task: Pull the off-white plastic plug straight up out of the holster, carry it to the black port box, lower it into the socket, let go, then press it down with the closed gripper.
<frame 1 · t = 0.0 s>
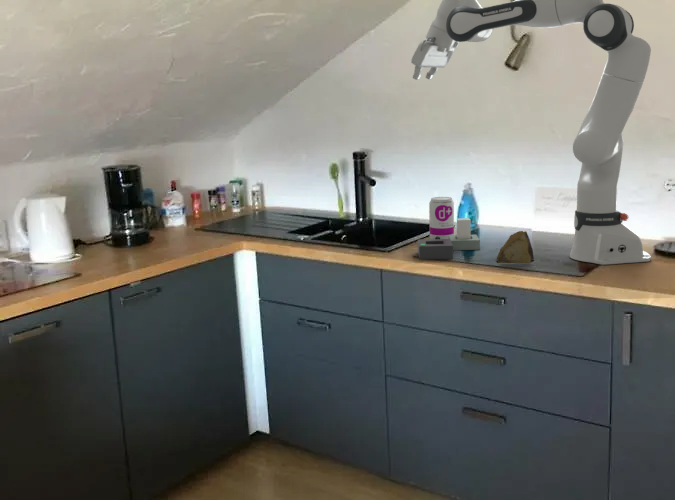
hand: (421, 78, 232), 54 cm above the worktop, tool tilted 30°, fingers open, 8 cm apart
holster: (463, 249, 232), on the worktop
rock: (514, 262, 213), on the worktop
port: (435, 258, 222), on the worktop
plug: (463, 246, 231), point 1 cm above the worktop, touching holster
supplement can: (441, 242, 245), on the worktop
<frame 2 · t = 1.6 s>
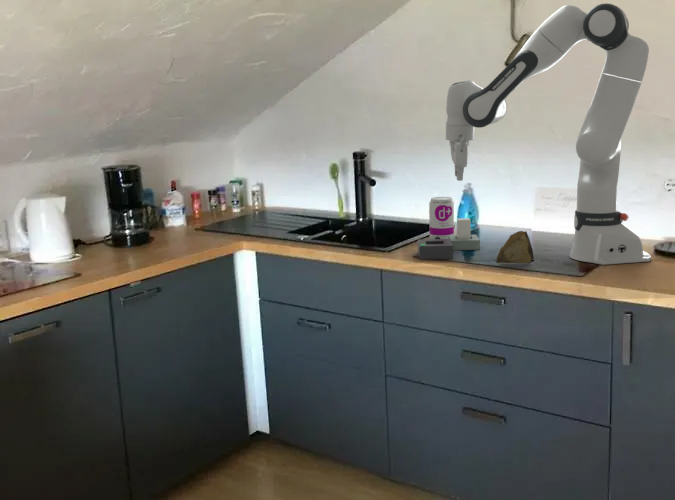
hand: (458, 178, 228), 23 cm above the worktop, tool pointing down, fingers open, 8 cm apart
nothing on the worktop moved.
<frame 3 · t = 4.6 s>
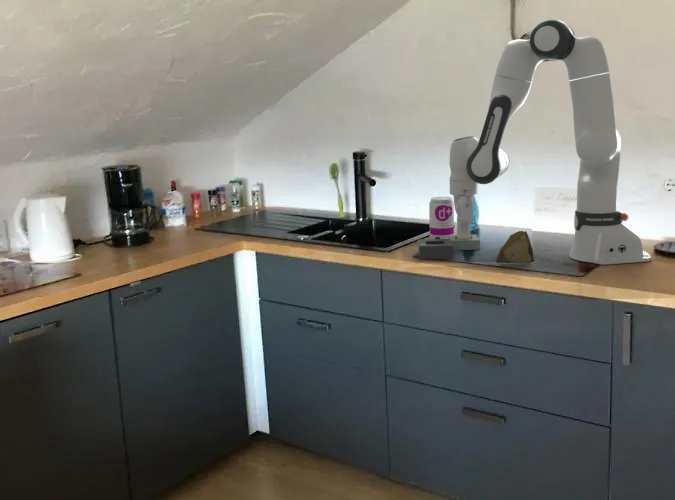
hand: (463, 231, 230), 6 cm above the worktop, tool pointing down, fingers closed on plug, 3 cm apart
plug: (463, 246, 231), point 1 cm above the worktop, touching gripper, holster
everything else where it was.
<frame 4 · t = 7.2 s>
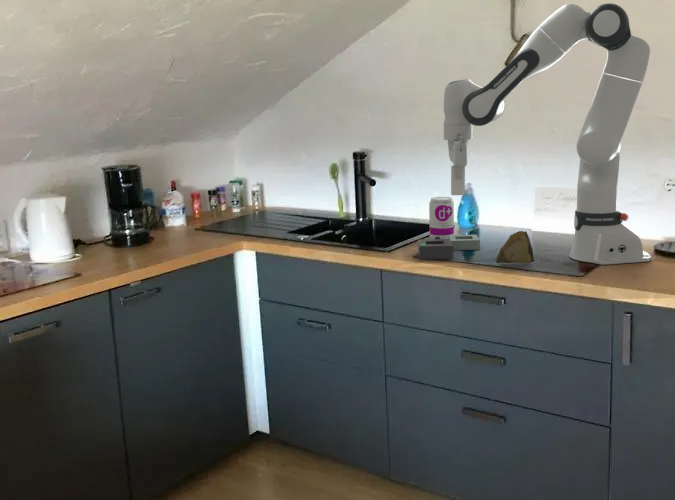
hand: (457, 178, 225), 23 cm above the worktop, tool pointing down, fingers closed on plug, 3 cm apart
plug: (457, 194, 226), point 18 cm above the worktop, touching gripper
everything else where it was.
when the fingers open (8 cm above the worktop, at t = 10.2 s): plug stays where it is, resting on port.
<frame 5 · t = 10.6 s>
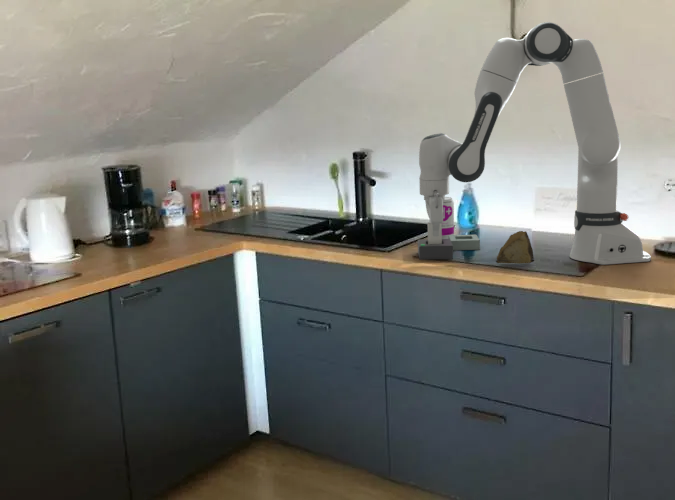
hand: (434, 233, 220), 8 cm above the worktop, tool pointing down, fingers open, 7 cm apart
plug: (434, 252, 221), point 2 cm above the worktop, touching port
everything else where it was.
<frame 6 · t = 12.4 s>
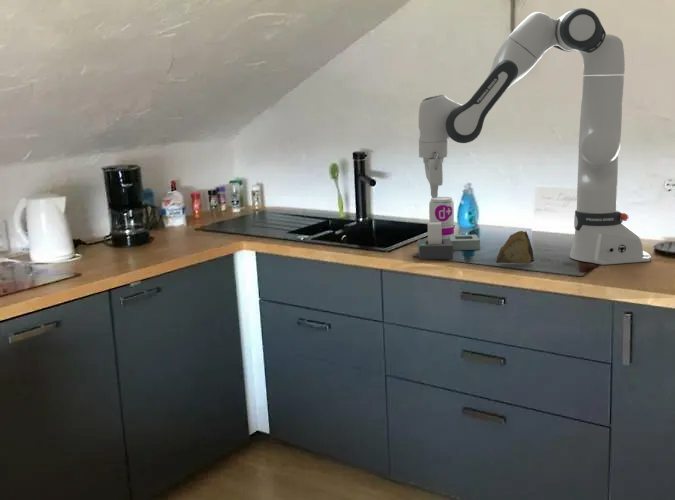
hand: (434, 196, 218), 19 cm above the worktop, tool pointing down, fingers closed
nothing on the worktop moved.
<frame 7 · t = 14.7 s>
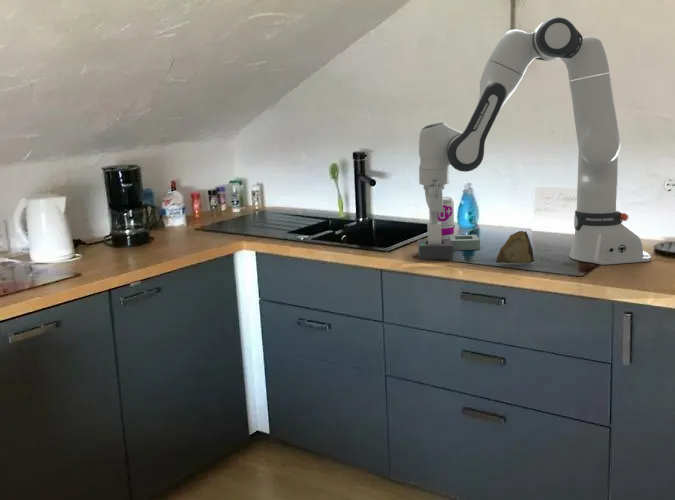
hand: (434, 223, 219), 11 cm above the worktop, tool pointing down, fingers closed, pressing on plug
plug: (434, 252, 221), point 2 cm above the worktop, touching gripper, port
everything else where it was.
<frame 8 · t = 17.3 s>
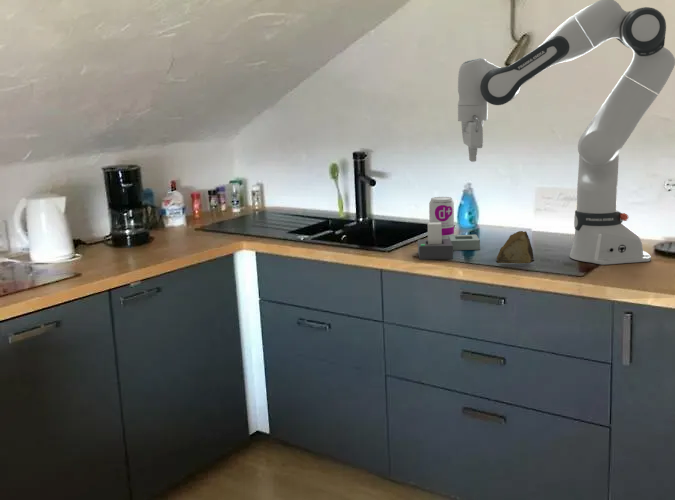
hand: (472, 161, 218), 29 cm above the worktop, tool pointing down, fingers closed
plug: (434, 252, 221), point 2 cm above the worktop, touching port
everything else where it was.
at the end: plug 0.0 cm off-centre on the port, point 2.0 cm above the port's base; plug tilted 0°; the gripper is holding nothing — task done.
